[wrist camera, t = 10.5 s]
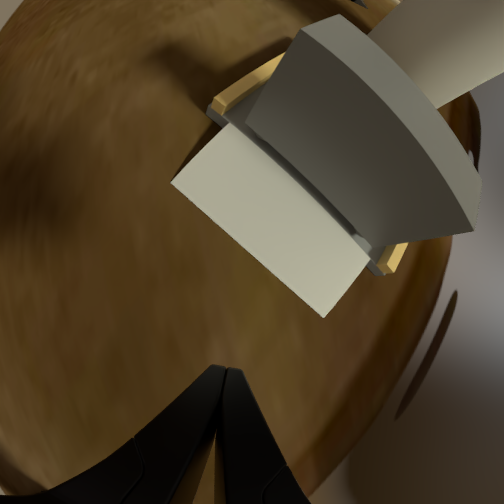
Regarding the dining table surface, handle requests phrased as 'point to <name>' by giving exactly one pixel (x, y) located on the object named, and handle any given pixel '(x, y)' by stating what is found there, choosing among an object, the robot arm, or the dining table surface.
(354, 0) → the black block on plate
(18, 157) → the dining table surface
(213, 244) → the dining table surface
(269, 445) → the robot arm
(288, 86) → the gray and cream l-shape
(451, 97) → the cylinder vase
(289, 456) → the dining table surface
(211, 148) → the loading dock
